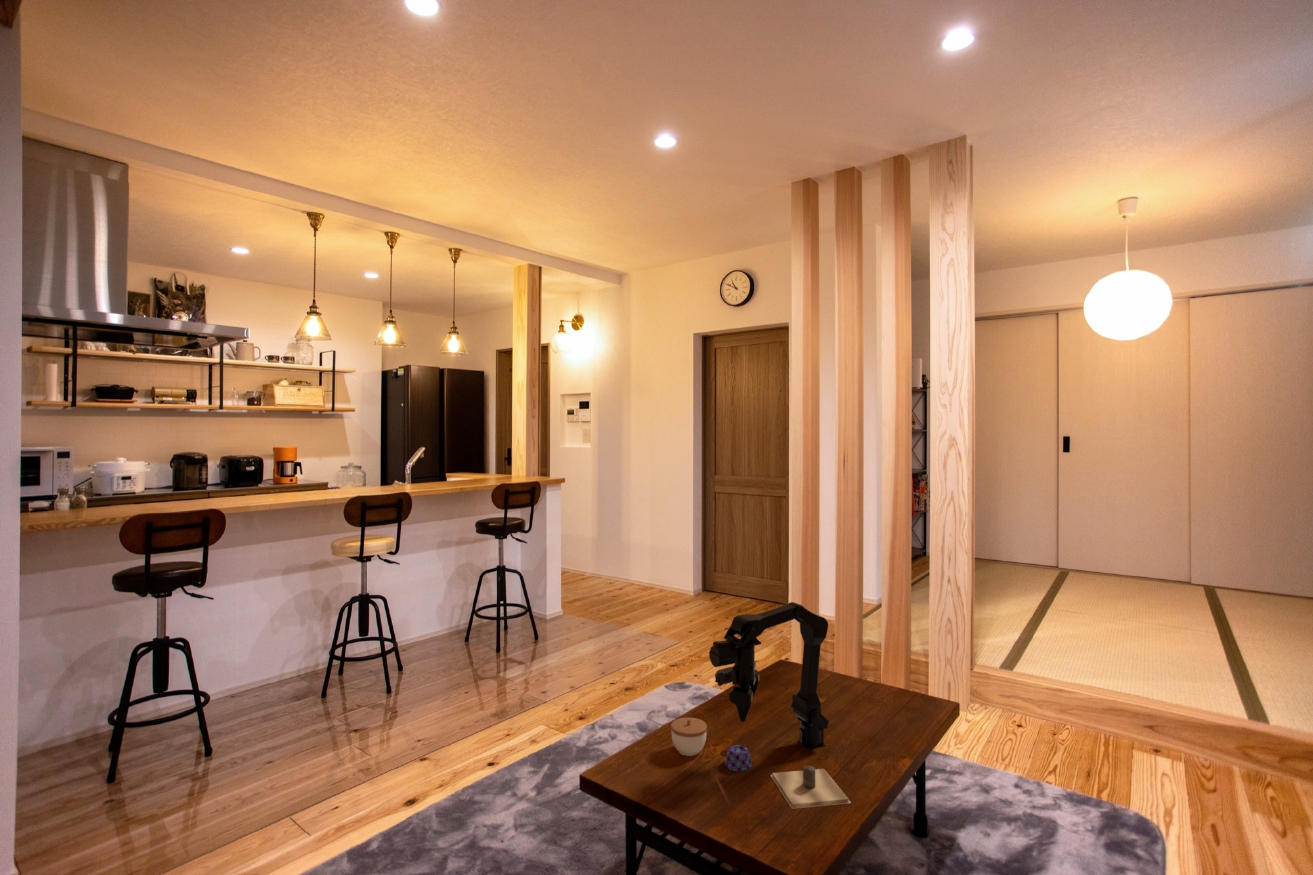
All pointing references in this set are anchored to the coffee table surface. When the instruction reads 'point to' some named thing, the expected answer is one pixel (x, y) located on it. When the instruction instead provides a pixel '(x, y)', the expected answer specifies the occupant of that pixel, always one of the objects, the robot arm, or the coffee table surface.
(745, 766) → the purple round dome
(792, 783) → the lid
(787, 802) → the mat
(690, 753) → the lidded jar
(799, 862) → the coffee table surface
